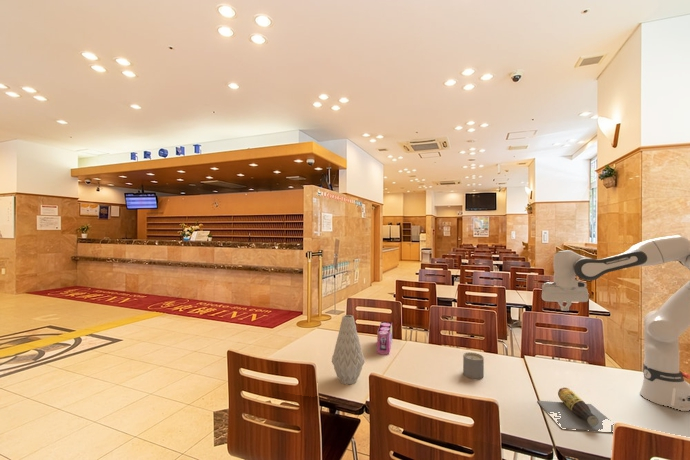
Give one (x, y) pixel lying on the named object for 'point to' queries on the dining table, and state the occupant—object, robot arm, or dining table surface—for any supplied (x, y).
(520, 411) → the dining table surface
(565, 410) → the placemat
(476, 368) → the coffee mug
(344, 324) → the vase
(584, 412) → the sauce bottle
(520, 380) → the dining table surface
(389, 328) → the pink multipack
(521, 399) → the dining table surface
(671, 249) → the robot arm
